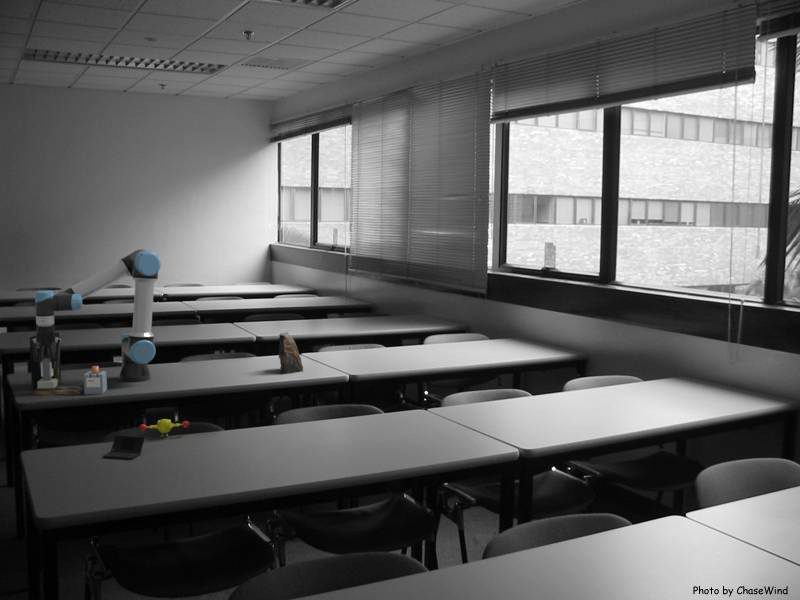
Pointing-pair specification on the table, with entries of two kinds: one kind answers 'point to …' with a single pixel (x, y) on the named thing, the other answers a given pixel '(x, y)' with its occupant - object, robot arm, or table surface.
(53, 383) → the grey post stand
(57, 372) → the black upright box
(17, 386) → the table surface
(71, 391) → the rail bed
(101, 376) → the gauge cabinet
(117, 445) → the black laptop
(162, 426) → the toy figure
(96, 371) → the reset pin
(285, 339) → the brown rock
